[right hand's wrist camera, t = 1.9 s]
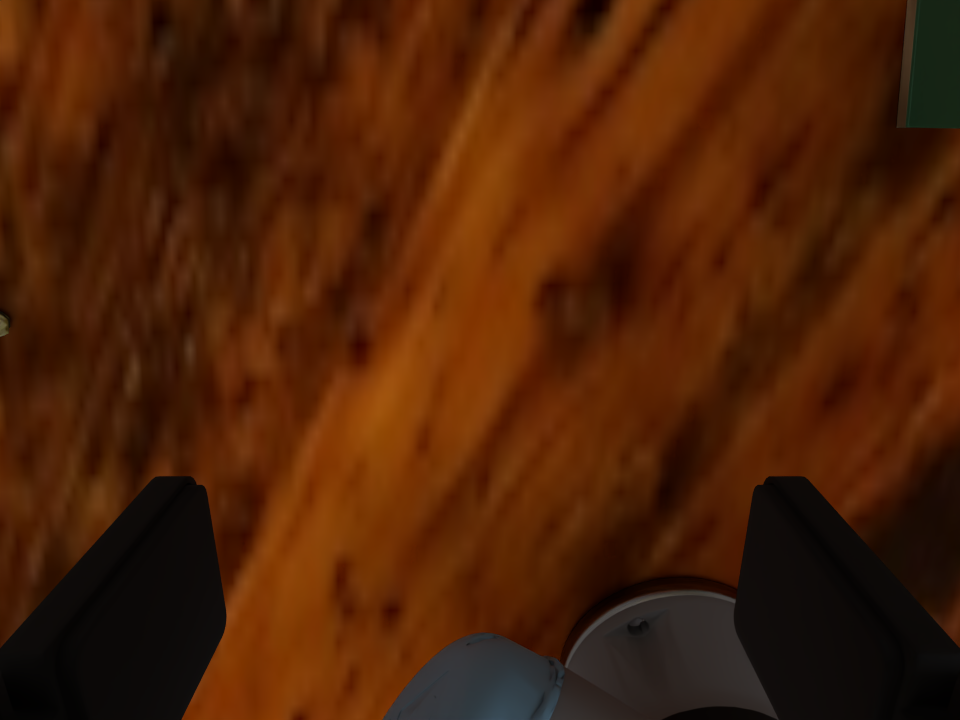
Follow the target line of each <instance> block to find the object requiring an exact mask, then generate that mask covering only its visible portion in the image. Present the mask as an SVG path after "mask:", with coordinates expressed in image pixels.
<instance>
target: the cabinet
mask: <svg viewBox="0 0 960 720" xmlns="http://www.w3.org/2000/svg"><path fill="white" fill-rule="evenodd" d="M907 127H916V128H960V0H908V1H907V12H906V24H905V35H904V47H903V58H902V70H901V81H900V93H899V104H898V116H897V128H907Z"/></svg>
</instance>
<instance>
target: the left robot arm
mask: <svg viewBox="0 0 960 720" xmlns="http://www.w3.org/2000/svg"><path fill="white" fill-rule="evenodd" d="M736 595H737V590H735V589H733V588H731V587H728V586H726V585H723V584H720V583H717V582H713V581H709V580H704V579H696V578H665V579H657V580H652V581H648V582H644V583H640V584H637V585H634V586H631V587H628V588H626V589H623V590H621V591H619V592H617V593H615V594H613V595H611V596H610V597H608V598H606V599H605V600H603V601H602V602H600V603H599V604H598V605H596V606H595V607H594V608H592V609H591V610H590V611H589V612H588V613H587V614H586V615H585V616H584V617H583V618H582V619H581V620H580V621H579V623H578V624H577V625H576V626H575V628H574V629H573V631H572V632H571V634H570V635H569V637H568V639H567V641H566V644H565V646H564V649H563V652H562V656H561V660H560V662H559V660H557V659H556V658H554V657H550V656H540V655H538V654H536V653H534V652H532V651H530V650H528V649H527V648H525V647H523V646H521V645H519V644H517V643H515V642H513V641H511V640H509V639H507V638H505V637H504V636H500V635H497V634H493V633H476V634H471V635H468V636H465V637H463V638H460V639H458V640H456V641H454V642H453V643H451V644H449V645H448V646H446V647H445V648H444V649H442V650H441V651H440V652H439V653H437V654H436V655H435V656H434V657H433V658H432V659H431V660H430V661H429V662H428V663H427V664H426V665H425V666H423V667H422V669H421V670H420V671H419V672H418V673H417V674H416V675H415V676H414V678H413V679H412V680H411V681H410V682H409V684H408V685H407V686H406V687H405V688H404V690H403V691H402V692H401V694H400V695H399V696H398V698H397V699H396V700H395V702H394V703H393V705H392V706H391V707H390V709H389V710H388V712H387V713H386V715H385V717H384V718H383V720H779V719H778V717H777V715H776V713H775V711H774V709H773V707H772V705H771V703H770V701H769V699H768V697H767V695H766V693H765V691H764V689H763V687H762V685H761V683H760V681H759V679H758V677H757V675H756V672H755V670H754V668H753V666H752V664H751V662H750V660H749V658H748V656H747V654H746V652H745V650H744V648H743V646H742V644H741V642H740V640H739V638H738V636H737V633H736V630H735V626H734V607H735V601H736Z"/></svg>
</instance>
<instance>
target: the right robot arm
mask: <svg viewBox="0 0 960 720" xmlns="http://www.w3.org/2000/svg"><path fill="white" fill-rule="evenodd" d="M225 626H226V607H225V601H224V595H223V589H222V583H221V576H220V570H219V564H218V558H217V552H216V546H215V540H214V533H213V527H212V521H211V515H210V509H209V503H208V496H207V492H206V489H205V487H204V486H203V485H197V484H196V482H195V480H194V478H192V477H191V476H159V477H155V478H154V479H152V480H151V481H150V482H149V484H148V485H147V486H146V487H145V488H144V489H143V490H142V491H141V492H140V494H139V495H138V496H137V497H136V498H135V499H134V500H133V501H132V502H131V504H130V505H129V506H128V507H127V508H126V509H125V510H124V511H123V512H122V514H121V515H120V516H119V517H118V518H117V519H116V520H115V521H114V522H113V524H112V525H111V526H110V527H109V528H108V529H107V530H106V531H105V532H104V534H103V535H102V536H101V537H100V538H99V539H98V540H97V541H96V542H95V544H94V545H93V546H92V547H91V548H90V549H89V550H88V551H87V552H86V554H85V555H84V556H83V557H82V558H81V559H80V560H79V561H78V562H77V564H76V565H75V566H74V567H73V568H72V569H71V570H70V571H69V572H68V574H67V575H66V576H65V577H64V578H63V579H62V580H61V581H60V582H59V584H58V585H57V586H56V587H55V588H54V589H53V590H52V591H51V592H50V594H49V595H48V596H47V597H46V598H45V599H44V600H43V601H42V602H41V604H40V605H39V606H38V607H37V608H36V609H35V610H34V611H33V612H32V614H31V615H30V616H29V617H28V618H27V619H26V620H25V621H24V623H23V624H22V625H21V626H20V627H19V628H18V629H17V630H16V631H15V633H14V634H13V635H12V636H11V637H10V638H9V639H8V640H7V641H6V643H5V644H4V645H3V646H2V647H1V648H0V720H181V719H182V717H183V715H184V713H185V711H186V709H187V707H188V705H189V703H190V701H191V699H192V697H193V695H194V693H195V691H196V689H197V687H198V685H199V683H200V681H201V679H202V677H203V675H204V672H205V670H206V668H207V666H208V664H209V662H210V660H211V658H212V656H213V654H214V652H215V650H216V648H217V646H218V644H219V642H220V640H221V638H222V636H223V633H224V630H225ZM734 626H735V630H736V633H737V636H738V638H739V640H740V642H741V644H742V646H743V648H744V650H745V652H746V654H747V656H748V658H749V660H750V662H751V664H752V666H753V668H754V670H755V672H756V675H757V677H758V679H759V681H760V683H761V685H762V687H763V689H764V691H765V693H766V695H767V697H768V699H769V701H770V703H771V705H772V707H773V709H774V711H775V713H776V715H777V717H778V719H779V720H960V648H959V647H958V646H957V645H956V644H955V643H954V641H953V640H952V639H951V638H950V637H949V636H948V635H947V634H946V633H945V631H944V630H943V629H942V628H941V627H940V626H939V625H938V624H937V622H936V621H935V620H934V619H933V618H932V617H931V616H930V615H929V614H928V612H927V611H926V610H925V609H924V608H923V607H922V606H921V605H920V604H919V602H918V601H917V600H916V599H915V598H914V597H913V596H912V595H911V594H910V592H909V591H908V590H907V589H906V588H905V587H904V586H903V585H902V584H901V582H900V581H899V580H898V579H897V578H896V577H895V576H894V575H893V574H892V572H891V571H890V570H889V569H888V568H887V567H886V566H885V565H884V564H883V562H882V561H881V560H880V559H879V558H878V557H877V556H876V555H875V554H874V552H873V551H872V550H871V549H870V548H869V547H868V546H867V545H866V544H865V542H864V541H863V540H862V539H861V538H860V537H859V536H858V535H857V534H856V532H855V531H854V530H853V529H852V528H851V527H850V526H849V525H848V524H847V522H846V521H845V520H844V519H843V518H842V517H841V516H840V515H839V514H838V512H837V511H836V510H835V509H834V508H833V507H832V506H831V505H830V504H829V502H828V501H827V500H826V499H825V498H824V497H823V496H822V495H821V494H820V492H819V491H818V490H817V489H816V488H815V487H814V486H813V485H812V484H811V482H810V481H809V480H808V479H806V478H805V477H801V476H769V477H768V478H766V480H765V482H764V484H763V485H757V486H756V487H755V489H754V492H753V496H752V503H751V509H750V515H749V521H748V527H747V533H746V540H745V546H744V552H743V558H742V564H741V570H740V576H739V583H738V589H737V595H736V601H735V607H734Z"/></svg>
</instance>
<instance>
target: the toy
mask: <svg viewBox="0 0 960 720" xmlns="http://www.w3.org/2000/svg"><path fill="white" fill-rule="evenodd" d="M9 328H10V318H9V317H8V316H6V315H5V314H4V313H3V312H0V337H1V336H4V335H6V334H8V333H9Z"/></svg>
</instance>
